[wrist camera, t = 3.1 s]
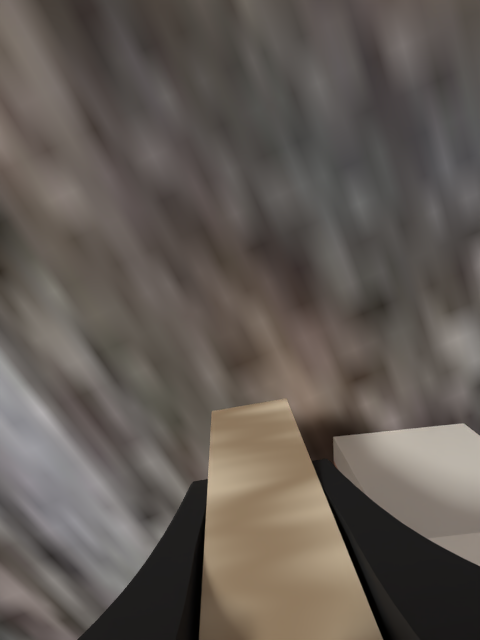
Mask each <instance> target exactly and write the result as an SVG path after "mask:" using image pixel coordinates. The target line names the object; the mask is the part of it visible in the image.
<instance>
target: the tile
mask: <svg viewBox="0 0 480 640" xmlns="http://www.w3.org/2000/svg"><path fill="white" fill-rule="evenodd" d="M333 452H334V465H335V467H336V468H337V469H338V470H339V471H340V472H341V473H342V474H343V475H344V476H345V477H346V478H348V479H349V480H350V481H351V482H352V483H353V484H354V485H355V486H356V487H357V488H359V489H360V490H361V491H362V492H363V493H364V494H366V495H367V496H368V497H369V498H370V499H372V500H373V501H374V502H375V503H376V504H378V505H379V506H380V507H381V508H383V509H384V510H385V511H387V512H388V513H389V514H391V515H392V516H393V517H395V518H396V519H398V520H399V521H400V522H402V523H403V524H405V525H406V526H408V527H409V528H411V529H413V530H414V531H416V532H417V533H419V534H420V535H422V536H424V537H425V538H427V539H429V540H430V541H432V542H434V543H436V544H437V545H439V546H441V547H443V548H445V549H447V550H449V551H451V552H452V553H454V554H456V555H458V556H460V557H462V558H464V559H466V560H468V561H470V562H472V563H474V564H476V565H478V566H480V436H479V435H478V434H477V433H475V432H474V431H473V430H471V429H470V428H469V427H468V426H466V425H465V424H464V423H463V424H454V425H444V426H434V427H424V428H415V429H405V430H395V431H385V432H376V433H366V434H356V435H346V436H337V437H333Z"/></svg>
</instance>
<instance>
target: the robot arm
mask: <svg viewBox="0 0 480 640" xmlns="http://www.w3.org/2000/svg"><path fill="white" fill-rule="evenodd" d="M312 464H313V466H314V469H315V471H316V474H317V476H318V479H319V481H320V484H321V486H322V489H323V491H324V494H325V496H326V499H327V501H328V504H329V506H330V509H331V511H332V514H333V516H334V519H335V521H336V524H337V526H338V529H339V531H340V534H341V536H342V539H343V541H344V544H345V546H346V549H347V551H348V554H349V556H350V559H351V561H352V563H353V566H354V568H355V571H356V573H357V576H358V578H359V581H360V583H361V586H362V588H363V591H364V593H365V596H366V598H367V601H368V603H369V606H370V608H371V611H372V613H373V616H374V618H375V621H376V623H377V626H378V628H379V631H380V633H381V636H382V638H383V640H480V566H478V565H476V564H474V563H472V562H470V561H468V560H466V559H464V558H462V557H460V556H458V555H456V554H454V553H452V552H451V551H449V550H447V549H445V548H443V547H441V546H439V545H437V544H436V543H434V542H432V541H430V540H429V539H427V538H425V537H424V536H422V535H420V534H419V533H417V532H416V531H414V530H413V529H411V528H409V527H408V526H406V525H405V524H403V523H402V522H400V521H399V520H398V519H396V518H395V517H393V516H392V515H391V514H389V513H388V512H387V511H385V510H384V509H383V508H381V507H380V506H379V505H378V504H376V503H375V502H374V501H373V500H372V499H370V498H369V497H368V496H367V495H366V494H364V493H363V492H362V491H361V490H360V489H359V488H357V487H356V486H355V485H354V484H353V483H352V482H351V481H350V480H349V479H348V478H346V477H345V476H344V475H343V474H342V473H341V472H340V471H339V470H338V469H337V468H336V467H335V466H334V465H333V464H332V463H331V462H330V461H329V460H328V459H322V460H316V461H312ZM207 488H208V479H206V480H200V481H194V482H193V483H192V484H191V485H190V487H189V489H188V491H187V493H186V495H185V497H184V499H183V501H182V503H181V505H180V507H179V509H178V511H177V513H176V514H175V516H174V518H173V520H172V521H171V523H170V525H169V526H168V528H167V530H166V532H165V533H164V535H163V536H162V538H161V540H160V541H159V543H158V544H157V546H156V547H155V549H154V550H153V552H152V553H151V555H150V556H149V558H148V559H147V561H146V562H145V563H144V565H143V566H142V568H141V569H140V570H139V572H138V573H137V574H136V576H135V577H134V578H133V579H132V581H131V582H130V583H129V585H128V586H127V587H126V588H125V589H124V591H123V592H122V593H121V594H120V595H119V596H118V598H117V599H116V600H115V601H114V602H113V603H112V604H111V605H110V606H109V608H108V609H107V610H106V611H105V612H104V613H103V614H102V615H101V616H100V618H99V619H98V620H97V621H96V622H95V623H94V624H93V625H92V626H91V627H90V628H89V629H88V630H87V631H86V632H85V633H84V634H83V635H82V636H81V637H80V638H79V639H77V640H199V630H200V612H201V595H202V577H203V559H204V542H205V524H206V506H207Z"/></svg>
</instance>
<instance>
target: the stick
mask: <svg viewBox="0 0 480 640" xmlns="http://www.w3.org/2000/svg"><path fill="white" fill-rule="evenodd" d="M199 640H383V638H382V636H381V633H380V631H379V628H378V626H377V623H376V621H375V618H374V616H373V613H372V611H371V608H370V606H369V603H368V601H367V598H366V596H365V593H364V591H363V588H362V586H361V583H360V581H359V578H358V576H357V573H356V571H355V568H354V566H353V563H352V561H351V559H350V556H349V554H348V551H347V549H346V546H345V544H344V541H343V539H342V536H341V534H340V531H339V529H338V526H337V524H336V521H335V519H334V516H333V514H332V511H331V509H330V506H329V504H328V501H327V499H326V496H325V494H324V491H323V489H322V486H321V484H320V481H319V479H318V476H317V474H316V471H315V469H314V466H313V464H312V461H311V459H310V456H309V454H308V451H307V449H306V447H305V444H304V442H303V439H302V437H301V434H300V432H299V429H298V427H297V424H296V422H295V419H294V417H293V414H292V412H291V409H290V407H289V404H288V402H287V399H280V400H275V401H269V402H263V403H257V404H251V405H245V406H240V407H234V408H228V409H222V410H216V411H212V417H211V435H210V453H209V471H208V488H207V506H206V524H205V542H204V559H203V577H202V595H201V612H200V630H199Z"/></svg>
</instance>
